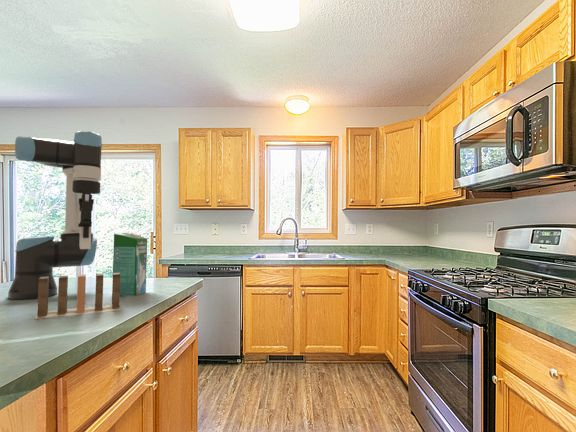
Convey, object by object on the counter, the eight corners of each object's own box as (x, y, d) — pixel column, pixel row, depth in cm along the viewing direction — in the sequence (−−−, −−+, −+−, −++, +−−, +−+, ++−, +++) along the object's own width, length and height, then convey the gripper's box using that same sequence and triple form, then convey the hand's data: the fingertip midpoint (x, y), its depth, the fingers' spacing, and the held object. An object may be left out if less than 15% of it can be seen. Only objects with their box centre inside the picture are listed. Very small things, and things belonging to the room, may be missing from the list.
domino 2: (58, 311, 100) (60, 275, 100) (66, 310, 101) (67, 275, 101) (57, 315, 96) (58, 277, 96) (65, 314, 97) (66, 277, 97)
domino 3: (95, 307, 105) (96, 273, 105) (102, 307, 106) (103, 273, 106) (95, 311, 101) (96, 275, 101) (102, 310, 102) (103, 275, 102)
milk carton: (135, 298, 123) (137, 233, 124) (111, 297, 123) (113, 232, 124) (145, 293, 132) (147, 232, 133) (124, 293, 132) (125, 232, 133)
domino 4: (111, 306, 107) (112, 272, 107) (118, 305, 108) (119, 272, 108) (112, 309, 103) (113, 274, 104) (119, 308, 104) (120, 274, 105)
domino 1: (39, 313, 97) (40, 277, 98) (47, 312, 98) (49, 276, 99) (37, 317, 93) (38, 279, 94) (45, 316, 94) (47, 278, 95)
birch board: (38, 315, 99) (39, 311, 99) (119, 306, 110) (119, 303, 110) (34, 322, 91) (34, 319, 91) (121, 313, 102) (121, 309, 102)
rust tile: (77, 309, 102) (78, 274, 102) (84, 308, 103) (85, 274, 103) (76, 312, 98) (77, 276, 99) (84, 312, 99) (85, 276, 100)
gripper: (72, 184, 111) (70, 245, 110) (72, 174, 90) (69, 250, 89) (98, 185, 115) (96, 245, 114) (103, 177, 94) (101, 249, 93)
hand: (84, 247), depth 102 cm, fingers open, 13 cm apart
